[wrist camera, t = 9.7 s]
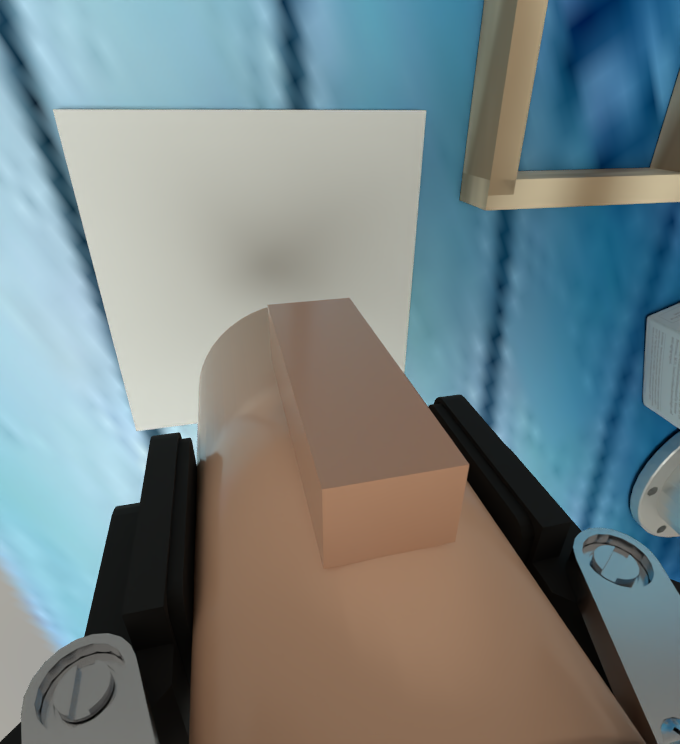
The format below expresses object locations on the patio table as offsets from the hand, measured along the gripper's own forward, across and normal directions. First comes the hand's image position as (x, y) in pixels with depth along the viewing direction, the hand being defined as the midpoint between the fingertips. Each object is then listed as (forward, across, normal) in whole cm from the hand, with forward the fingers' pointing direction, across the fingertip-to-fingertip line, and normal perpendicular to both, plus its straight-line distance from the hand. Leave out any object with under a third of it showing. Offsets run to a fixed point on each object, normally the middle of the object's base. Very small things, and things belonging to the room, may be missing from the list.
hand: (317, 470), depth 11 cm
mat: (+13, 0, 0) cm, 13 cm away
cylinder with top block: (+3, 0, 0) cm, 3 cm away
